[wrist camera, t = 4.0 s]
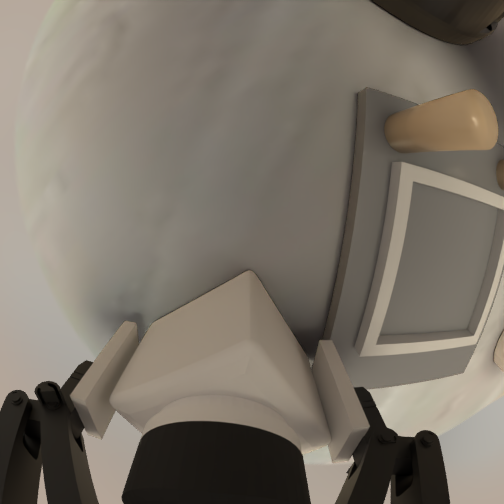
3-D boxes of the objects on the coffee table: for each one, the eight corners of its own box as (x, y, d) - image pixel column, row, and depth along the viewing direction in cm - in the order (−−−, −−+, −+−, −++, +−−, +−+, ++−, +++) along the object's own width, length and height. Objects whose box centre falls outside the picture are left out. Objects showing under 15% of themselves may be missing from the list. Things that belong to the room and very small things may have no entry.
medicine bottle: (150, 322, 16) (58, 491, 4) (251, 265, 15) (261, 490, 3) (215, 397, 17) (197, 555, 6) (308, 356, 17) (359, 532, 5)
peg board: (358, 93, 12) (432, 45, 5) (508, 156, 13) (576, 162, 6) (311, 380, 17) (334, 466, 10) (456, 365, 18) (498, 414, 11)
